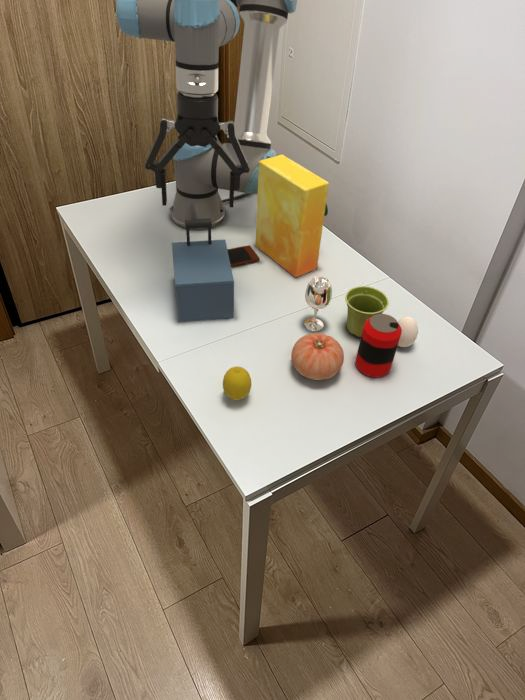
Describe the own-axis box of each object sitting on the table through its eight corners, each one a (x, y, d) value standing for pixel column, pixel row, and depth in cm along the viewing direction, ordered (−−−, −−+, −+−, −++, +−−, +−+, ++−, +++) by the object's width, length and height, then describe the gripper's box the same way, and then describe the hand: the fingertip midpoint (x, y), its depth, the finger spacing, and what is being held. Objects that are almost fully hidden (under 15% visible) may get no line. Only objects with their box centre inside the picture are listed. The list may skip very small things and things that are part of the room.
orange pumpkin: (328, 396, 107) (334, 368, 101) (280, 376, 110) (283, 348, 105) (348, 363, 114) (354, 335, 108) (303, 345, 117) (306, 317, 112)
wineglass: (322, 336, 120) (329, 293, 111) (298, 329, 121) (303, 287, 112) (329, 320, 124) (336, 278, 115) (305, 314, 125) (311, 272, 116)
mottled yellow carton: (331, 262, 140) (345, 176, 124) (295, 278, 135) (305, 190, 118) (290, 232, 150) (298, 149, 134) (254, 245, 145) (258, 160, 128)
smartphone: (196, 255, 138) (249, 244, 143) (196, 258, 139) (249, 247, 144) (205, 270, 134) (260, 258, 138) (205, 273, 134) (260, 261, 139)
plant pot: (386, 341, 119) (394, 311, 113) (346, 344, 118) (352, 314, 112) (373, 314, 126) (380, 284, 120) (335, 317, 124) (340, 287, 118)
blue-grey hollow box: (175, 280, 132) (172, 247, 125) (225, 277, 134) (225, 244, 127) (178, 322, 121) (175, 287, 114) (233, 317, 123) (234, 283, 116)
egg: (388, 350, 117) (396, 324, 112) (389, 334, 121) (397, 308, 116) (413, 355, 116) (421, 328, 111) (413, 339, 120) (422, 313, 115)
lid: (172, 245, 125) (169, 217, 120) (225, 242, 127) (225, 215, 122) (175, 287, 114) (173, 258, 109) (234, 283, 116) (234, 255, 111)
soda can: (388, 381, 110) (401, 339, 102) (352, 373, 112) (362, 331, 103) (392, 357, 116) (404, 315, 107) (357, 349, 117) (367, 307, 109)
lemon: (228, 384, 108) (228, 356, 102) (254, 390, 107) (255, 362, 101) (218, 403, 104) (218, 375, 98) (245, 410, 103) (246, 383, 97)
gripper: (124, 94, 92) (134, 209, 105) (267, 101, 95) (260, 213, 108) (129, 83, 98) (138, 194, 111) (264, 90, 101) (257, 198, 114)
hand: (198, 204), depth 109 cm, fingers open, 13 cm apart
